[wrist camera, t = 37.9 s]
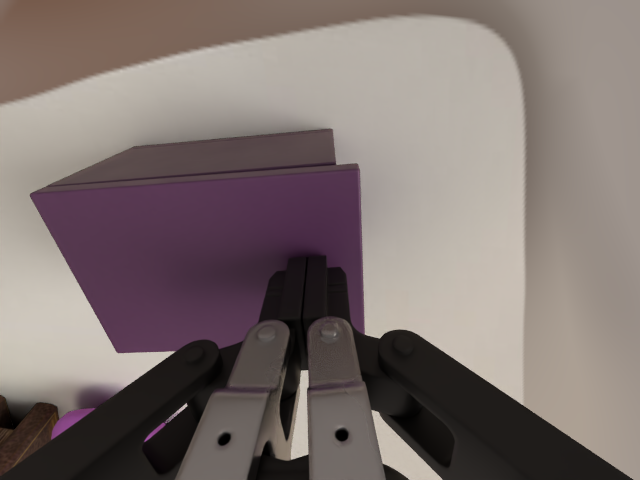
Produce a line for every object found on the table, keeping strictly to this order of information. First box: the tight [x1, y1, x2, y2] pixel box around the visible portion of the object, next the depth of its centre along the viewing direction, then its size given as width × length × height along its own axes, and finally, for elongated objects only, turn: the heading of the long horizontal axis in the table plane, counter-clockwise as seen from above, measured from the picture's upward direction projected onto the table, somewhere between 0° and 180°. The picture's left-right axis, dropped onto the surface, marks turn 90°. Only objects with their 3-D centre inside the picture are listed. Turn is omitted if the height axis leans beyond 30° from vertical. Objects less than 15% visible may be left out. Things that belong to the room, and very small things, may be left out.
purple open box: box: [46, 129, 336, 187], centre depth 17 cm, size 11×8×7 cm
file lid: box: [30, 164, 365, 353], centre depth 14 cm, size 12×8×1 cm
